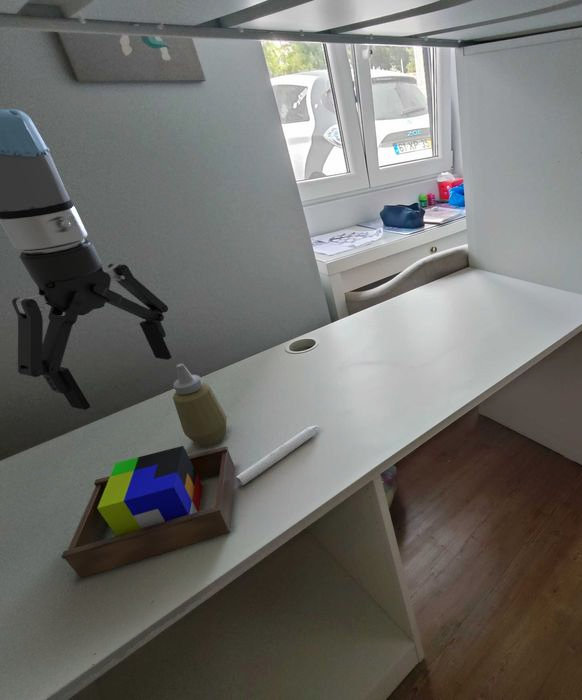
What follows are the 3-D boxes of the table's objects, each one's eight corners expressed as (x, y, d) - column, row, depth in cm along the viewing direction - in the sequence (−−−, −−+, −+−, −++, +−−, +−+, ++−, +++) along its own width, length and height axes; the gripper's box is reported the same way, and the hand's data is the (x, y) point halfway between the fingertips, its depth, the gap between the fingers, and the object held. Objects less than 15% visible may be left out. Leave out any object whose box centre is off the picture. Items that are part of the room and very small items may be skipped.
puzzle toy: (196, 529, 73) (173, 487, 68) (126, 550, 70) (97, 508, 65) (203, 486, 81) (183, 445, 76) (140, 504, 78) (115, 462, 73)
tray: (79, 579, 66) (61, 556, 64) (109, 501, 79) (95, 479, 76) (230, 532, 72) (219, 510, 70) (236, 467, 85) (227, 445, 82)
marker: (316, 428, 94) (314, 419, 93) (322, 431, 93) (320, 423, 92) (237, 483, 82) (233, 473, 80) (244, 487, 81) (240, 478, 79)
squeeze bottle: (180, 447, 91) (144, 374, 81) (208, 422, 97) (178, 352, 88) (213, 453, 89) (180, 379, 80) (240, 427, 95) (212, 356, 86)
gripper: (-47, 283, 46) (57, 438, 57) (160, 221, 66) (207, 343, 77) (-91, 278, 48) (18, 428, 59) (123, 219, 68) (174, 338, 79)
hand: (125, 380), depth 68 cm, fingers open, 13 cm apart
